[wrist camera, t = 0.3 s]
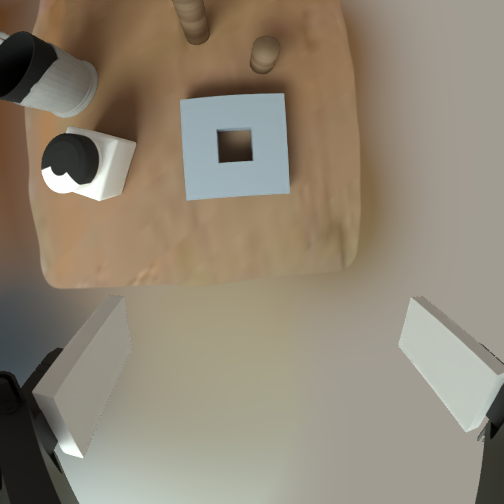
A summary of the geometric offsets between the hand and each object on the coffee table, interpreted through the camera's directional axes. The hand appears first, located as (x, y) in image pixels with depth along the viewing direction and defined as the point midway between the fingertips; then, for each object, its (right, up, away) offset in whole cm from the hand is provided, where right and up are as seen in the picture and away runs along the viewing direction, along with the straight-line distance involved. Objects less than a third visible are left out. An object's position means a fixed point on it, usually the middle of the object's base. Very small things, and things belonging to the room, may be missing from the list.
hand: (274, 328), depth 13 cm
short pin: (0, +27, +21) cm, 34 cm away
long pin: (-8, +31, +19) cm, 37 cm away
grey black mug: (-28, +28, +19) cm, 44 cm away
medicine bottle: (-20, +15, +23) cm, 34 cm away
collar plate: (-3, +16, +23) cm, 29 cm away
